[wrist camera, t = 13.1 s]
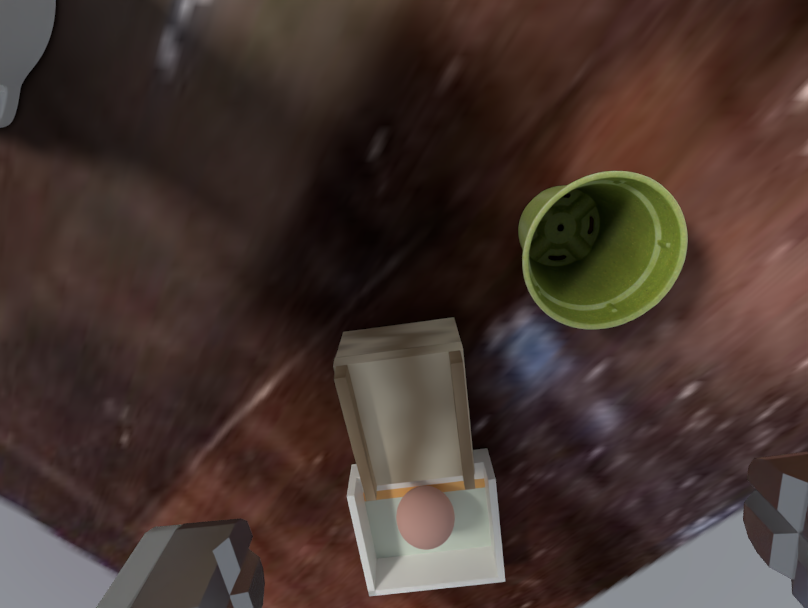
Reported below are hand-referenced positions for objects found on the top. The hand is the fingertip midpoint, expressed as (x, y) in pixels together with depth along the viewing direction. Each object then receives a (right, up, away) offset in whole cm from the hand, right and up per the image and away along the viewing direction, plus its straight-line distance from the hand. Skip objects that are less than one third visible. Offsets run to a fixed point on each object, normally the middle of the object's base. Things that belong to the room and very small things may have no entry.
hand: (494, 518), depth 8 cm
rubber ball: (0, -14, +35) cm, 38 cm away
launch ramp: (-1, -4, +32) cm, 32 cm away
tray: (+1, -15, +36) cm, 39 cm away
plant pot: (+10, +9, +28) cm, 31 cm away
